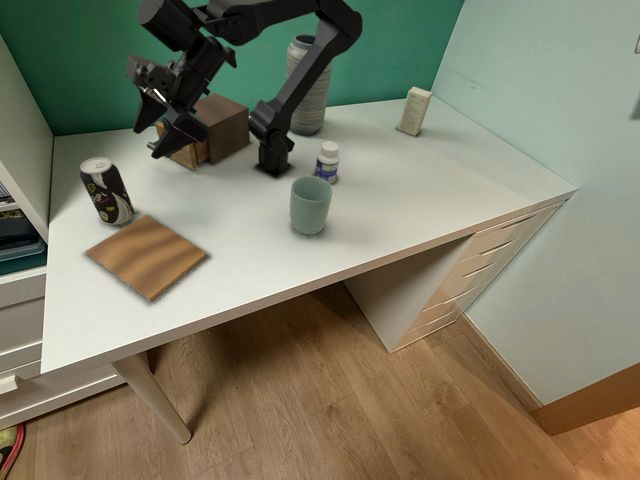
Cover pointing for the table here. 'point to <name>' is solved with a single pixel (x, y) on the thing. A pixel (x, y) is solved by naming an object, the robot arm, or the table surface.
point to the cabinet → (223, 125)
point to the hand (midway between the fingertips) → (144, 144)
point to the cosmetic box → (414, 110)
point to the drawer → (184, 151)
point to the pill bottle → (327, 161)
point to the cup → (310, 204)
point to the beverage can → (106, 190)
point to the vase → (314, 103)
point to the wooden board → (147, 256)
